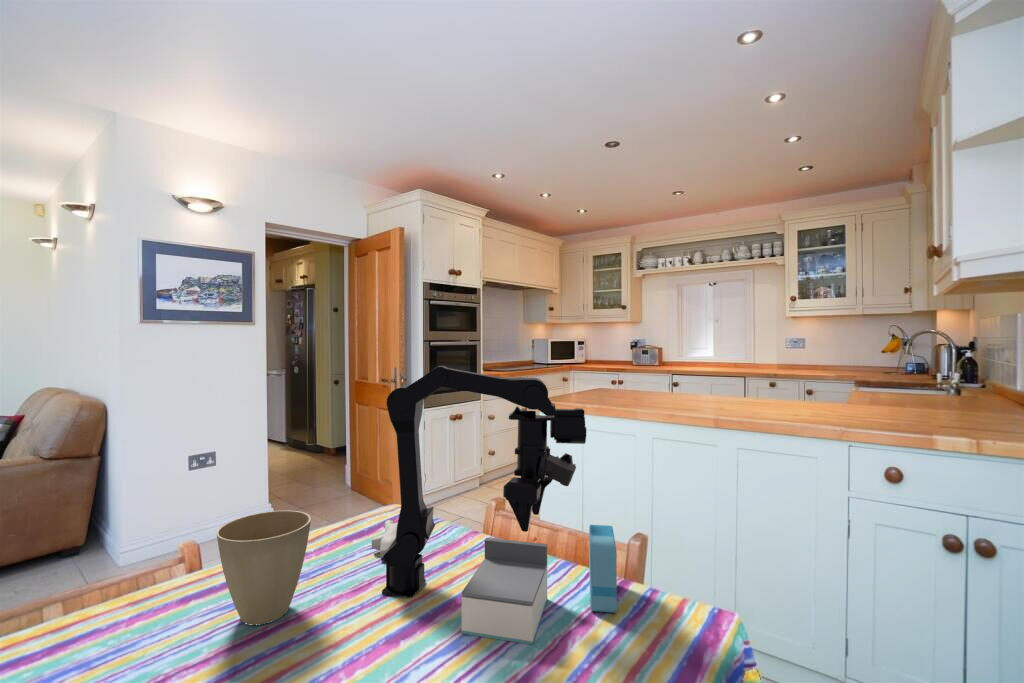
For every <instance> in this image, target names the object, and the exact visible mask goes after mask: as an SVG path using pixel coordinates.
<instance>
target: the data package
mask: <svg viewBox="0 0 1024 683" xmlns="http://www.w3.org/2000/svg"><path fill="white" fill-rule="evenodd" d="M588 528H589V534H588V536H589V538H588V539H589V540H588V541H589V544H588V545H589V547H588V548H589V552H588V553H589V557H588V558H589V559H588V560H589V561H588V562H589V564H588V565H589V569H588V570H589V571H588V572H589V575H588V576H589V578H588V579H589V596H590V598H589V599H590V600H589V601H590V610H591V612H599V613H601V612H602V613H614V614H615V613H617V611H618V610H617V609H618V607H617V605H618V604H617V602H618V598H617V594H618V592H617V590H618V588H617V586H618V584H617V580H618V579H617V574H618V572H617V568H618V566H617V557H618V555H617V546H616V545H617V544H616V539H615V533H614V528H613V525H601V524H589V527H588Z"/></svg>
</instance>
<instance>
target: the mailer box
mask: <svg viewBox="0 0 1024 683" xmlns="http://www.w3.org/2000/svg"><path fill="white" fill-rule="evenodd" d="M547 601H548V567H547V568H546V570H545V573H544V576H543V578H542V581H541V584H540V586H539V589H538V592H537V594H536V597H535V600H534V602H533V605H529V604H522V603H514V602H507V601H500V600H492V599H485V598H478V597H470V596H463V595H461V634H462V635H469V636H476V637H482V638H487V639H488V638H489V639H494V640H501V641H506V642H507V641H508V642H513V643H514V642H515V643H520V644H521V643H522V644H526V645H533V644H534V641H535V638H536V635H537V633H538V630H539V626H540V622H541V619H542V618H543V614H544V610H545V607H546V605H547Z"/></svg>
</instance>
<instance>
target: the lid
mask: <svg viewBox="0 0 1024 683" xmlns="http://www.w3.org/2000/svg"><path fill="white" fill-rule="evenodd" d="M546 568H547V569H548V543H540V542H531V541H530V542H529V541H521V540H511V539H510V540H509V539H501V538H494V537H493V538H489V537H486V538H485V539H484V558H483V560H482V561H481V563H480V565H479V566H478V568H477V569H476V571H475V572H474V574H473V575H472V576H471V578H470V580H469V581H468V582H467V584H466V585H465V587H464V588H463V589H462V591H461V596H470V597H478V598H485V599H492V600H500V601H507V602H514V603H522V604H529V605H533V602H534V600H535V597H536V594H537V592H538V589H539V586H540V584H541V581H542V578H543V576H544V573H545V570H546Z"/></svg>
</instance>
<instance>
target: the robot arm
mask: <svg viewBox="0 0 1024 683" xmlns="http://www.w3.org/2000/svg"><path fill="white" fill-rule="evenodd" d="M441 388H448V389H452V390H453V389H454V390H459V391H464V392H471V393H475V394H481V395H485V396H491V397H497V398H499V399H500V398H501V399H502V400H506V401H507V402H510V403H512V404H514V405H517V406H515V408H514V409H513V411H512V412H510V413H509V414H508V420H510V421H511V420H512V421H513V420H514V421H517V447H516V448H514V455H517V456H516V457H517V458H516V460H517V461H516V468H515V469H514V476H513V477H512V478H511V479H509V481H507V483H506V484H504V485H503V488H502V489H503V496H502V497H503V498H504V499H505V500H506V501H508V503H509V504H508V505H510V508H511V510H512V512H513V515H514V516H515V518H516V520H517V523H518V525H519V527H520V529H521V531H522V532H525V533H527V532H528V531H529V527H530V524H531V522H530V521H531V517H532V515H535V516H538V515H539V514H540V511H541V507H542V503H543V502H542V501H543V498H544V494H545V490H546V487H548V486H549V485H551V483H552V482H553V481H555V482H558V483H560V485H562V486H564V487H569V485H570V483H572V479H573V477H574V474H575V472H576V469H577V464H575V463H573V455H571V454H568V453H564V454H563V455H561V457H559V456H558V455H557V456H554V455H552V454H551V448H550V447H549V446H550V445H549V446H548V421H549V422H550V424H549V437H550V438H551V439H553V440H554V441H555V444H573V445H575V444H576V445H579V444H580V445H583V444H584V445H585V444H586V441H587V427H586V418H585V410H584V409H583V408H582V407H581V408H578V407H577V408H573V409H572V408H570V409H569V408H556V405H555V403H554V402H552V401H551V399H550V398H549V391H548V387H547V385H546V384H545V382H544V381H543V380H541V379H540V378H537V377H500V376H495V375H491V374H490V375H489V374H483V373H479V372H472V371H468V370H461V369H456V368H450V367H448V366H445V365H439V366H436V367H435V366H434V367H433V368H432V369H431V370H430V371H429V372H428V373H426V374H425V375H423V376H422V377H420V378H418V379H417V380H415V381H414V382H412V383H411V384H408V385H407V384H406V385H403V386H401V387H397V388H395V389H393V390H392V391H391V392H389V394H388V395H387V398H386V408H387V412H388V416H389V421H390V423H391V426H392V428H393V429H394V430H393V431H394V432H395V434H396V445H397V446H396V448H397V461H398V464H397V465H398V479H399V493H400V495H399V496H400V510H399V514H398V520H397V523H398V524H397V531H396V538H395V540H394V541H393V542H392V544H391V545H390V547H389V548H388V550H387V551H386V553H385V554H384V556H383V557H384V558H383V560H384V563H385V567H386V568H385V578H386V579H385V585H386V586H384V588H383V589H382V590H381V594H382V595H388V596H394V597H403V598H409V599H411V598H413V597H414V596H415V595H416V594H417V593H418V592H419V591H420V589H421V588H422V587H423V586H424V585H425V584H426V580H427V579H426V578H425V563H424V562H423V554H422V553H421V552H423V550H424V549H425V547H426V544H427V543H428V541H429V539H430V537H431V535H432V533H433V531H434V529H435V527H436V524H435V522H434V507H433V506H430V507H427V506H426V503H425V501H424V495H423V494H424V492H423V479H422V478H423V477H422V476H423V475H422V463H421V462H422V461H421V450H420V449H421V447H420V433H419V432H420V426H421V425H420V424H421V421H422V420H421V419H422V416H423V409H424V408H423V407H424V400H425V399H427V398H428V397H430V396H431V395H433V394H434V393H435V392H437V391H438V390H440V389H441ZM520 407H523V408H525V409H528V410H522V409H521V408H520ZM536 410H538V411H539V412H540V413H542V415H541V414H540V415H539V414H537V413H536V412H537V411H536Z"/></svg>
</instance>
